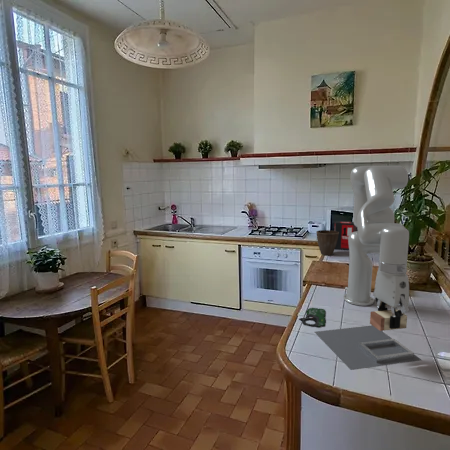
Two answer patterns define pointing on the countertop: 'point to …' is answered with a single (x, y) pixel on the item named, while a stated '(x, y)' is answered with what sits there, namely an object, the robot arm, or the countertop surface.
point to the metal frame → (391, 357)
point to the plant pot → (327, 241)
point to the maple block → (385, 320)
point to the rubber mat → (349, 346)
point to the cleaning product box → (344, 234)
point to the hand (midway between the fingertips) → (388, 323)
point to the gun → (314, 317)
